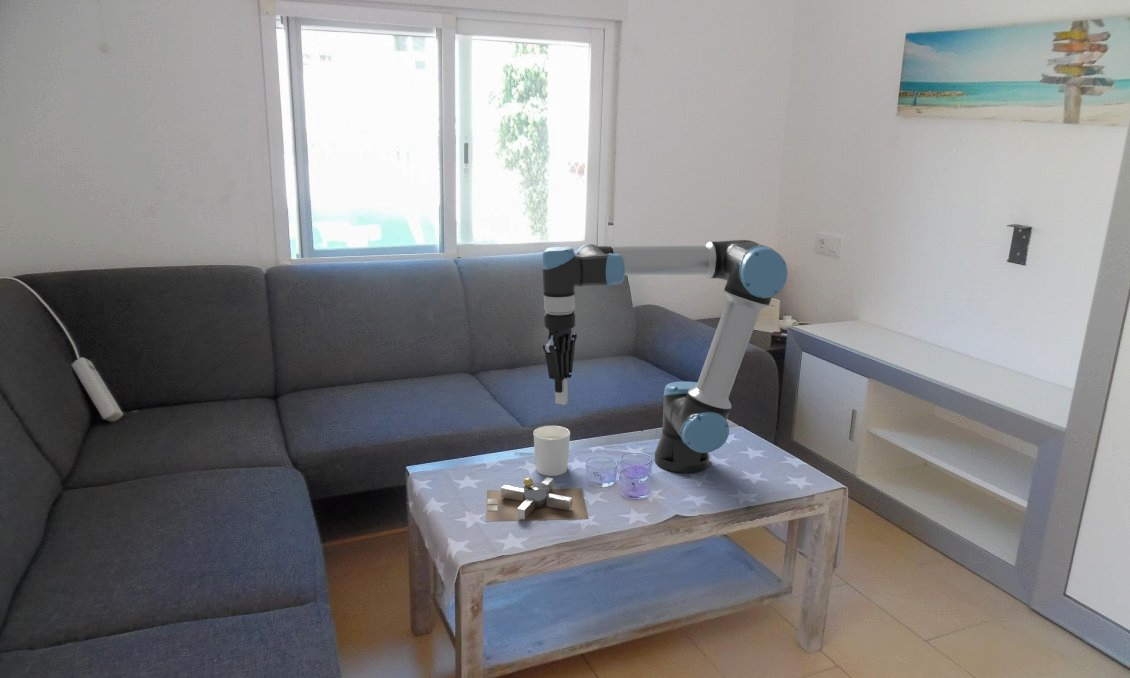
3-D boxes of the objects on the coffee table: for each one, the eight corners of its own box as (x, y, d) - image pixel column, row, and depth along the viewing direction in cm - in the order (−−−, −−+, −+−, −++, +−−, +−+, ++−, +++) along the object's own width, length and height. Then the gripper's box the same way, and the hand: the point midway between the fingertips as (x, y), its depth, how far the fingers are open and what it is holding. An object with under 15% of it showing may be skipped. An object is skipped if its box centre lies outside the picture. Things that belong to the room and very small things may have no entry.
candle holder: (565, 483, 204) (566, 441, 200) (529, 479, 205) (529, 437, 202) (572, 468, 213) (573, 427, 210) (537, 464, 215) (538, 424, 212)
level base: (581, 493, 198) (581, 487, 198) (588, 524, 183) (588, 518, 182) (487, 495, 196) (487, 489, 196) (486, 527, 181) (486, 520, 180)
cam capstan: (517, 481, 200) (517, 458, 199) (583, 493, 194) (584, 470, 192) (486, 512, 184) (486, 487, 182) (556, 527, 178) (557, 501, 176)
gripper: (559, 304, 195) (561, 393, 201) (532, 315, 184) (535, 409, 190) (585, 307, 191) (587, 397, 198) (559, 319, 180) (561, 414, 187)
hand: (561, 403), depth 194 cm, fingers closed
